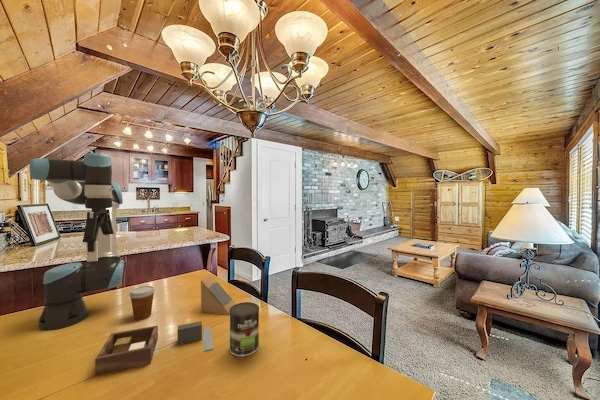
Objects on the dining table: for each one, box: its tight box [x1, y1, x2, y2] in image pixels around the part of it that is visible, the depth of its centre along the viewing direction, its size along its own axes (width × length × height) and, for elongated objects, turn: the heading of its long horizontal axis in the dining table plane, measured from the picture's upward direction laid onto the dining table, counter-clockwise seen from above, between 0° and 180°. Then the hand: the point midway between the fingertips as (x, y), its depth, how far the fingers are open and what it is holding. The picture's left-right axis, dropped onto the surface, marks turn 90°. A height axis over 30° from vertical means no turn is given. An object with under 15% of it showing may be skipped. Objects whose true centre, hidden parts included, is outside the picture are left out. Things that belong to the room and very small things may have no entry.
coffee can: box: [229, 301, 260, 358], centre depth 87 cm, size 10×10×14 cm
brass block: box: [114, 336, 132, 353], centre depth 82 cm, size 4×4×4 cm
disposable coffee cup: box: [128, 285, 156, 321], centre depth 108 cm, size 10×10×12 cm
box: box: [94, 325, 159, 377], centre depth 81 cm, size 14×14×6 cm
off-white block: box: [128, 341, 146, 351], centre depth 80 cm, size 4×4×4 cm
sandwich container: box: [200, 274, 237, 316], centre depth 115 cm, size 9×15×15 cm, turn 78°
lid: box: [177, 321, 214, 353], centre depth 90 cm, size 15×15×7 cm
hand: (100, 256), depth 89 cm, fingers open, 13 cm apart
